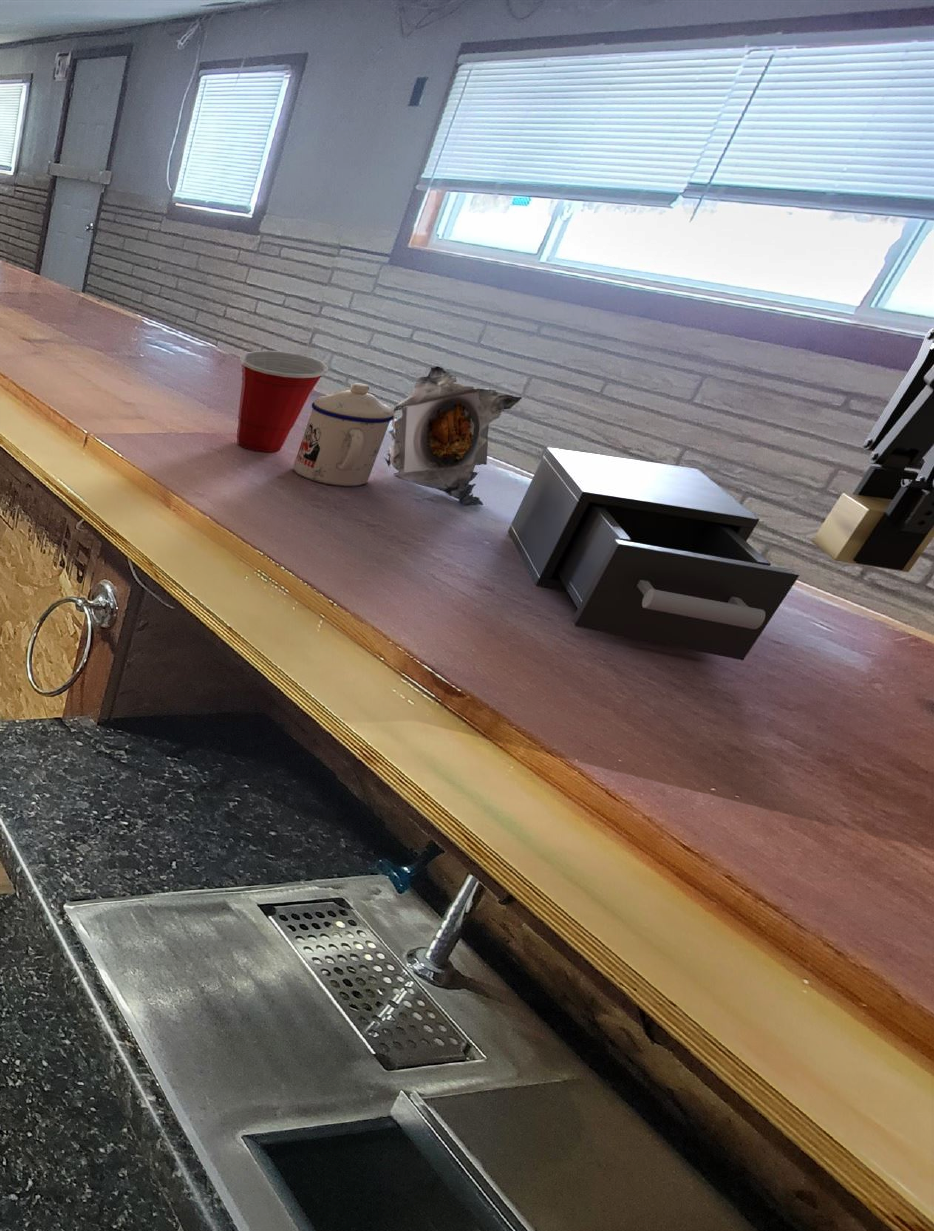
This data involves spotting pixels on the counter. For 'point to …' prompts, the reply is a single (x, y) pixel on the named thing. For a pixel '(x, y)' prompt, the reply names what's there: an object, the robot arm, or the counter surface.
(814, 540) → the block
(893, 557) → the robot arm
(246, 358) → the plastic cup
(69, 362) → the counter surface
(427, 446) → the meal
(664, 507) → the small drawer cabinet
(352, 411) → the teacup with lid
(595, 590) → the open drawer unit
